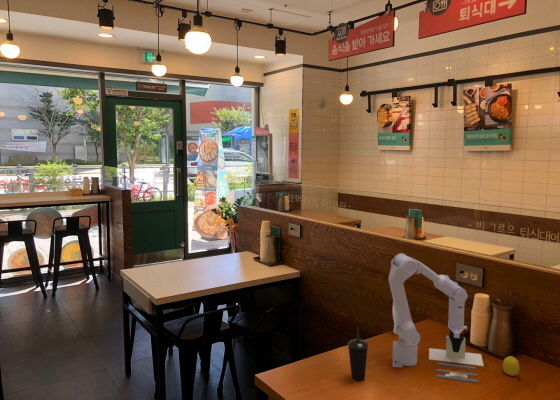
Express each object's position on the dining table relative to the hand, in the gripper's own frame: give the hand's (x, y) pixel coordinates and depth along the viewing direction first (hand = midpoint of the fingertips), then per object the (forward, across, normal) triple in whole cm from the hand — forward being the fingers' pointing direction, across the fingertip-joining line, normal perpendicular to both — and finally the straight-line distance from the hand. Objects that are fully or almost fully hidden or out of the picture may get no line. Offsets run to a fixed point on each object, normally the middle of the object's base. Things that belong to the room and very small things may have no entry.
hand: (455, 347), depth 182 cm
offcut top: (+4, -16, 0) cm, 17 cm away
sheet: (+4, 0, 0) cm, 4 cm away
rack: (+5, -13, 0) cm, 14 cm away
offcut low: (+5, -16, +1) cm, 17 cm away
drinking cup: (+5, -25, +35) cm, 43 cm away
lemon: (+5, -8, -19) cm, 21 cm away
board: (+5, 0, 0) cm, 5 cm away
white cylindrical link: (+5, +21, +23) cm, 32 cm away
